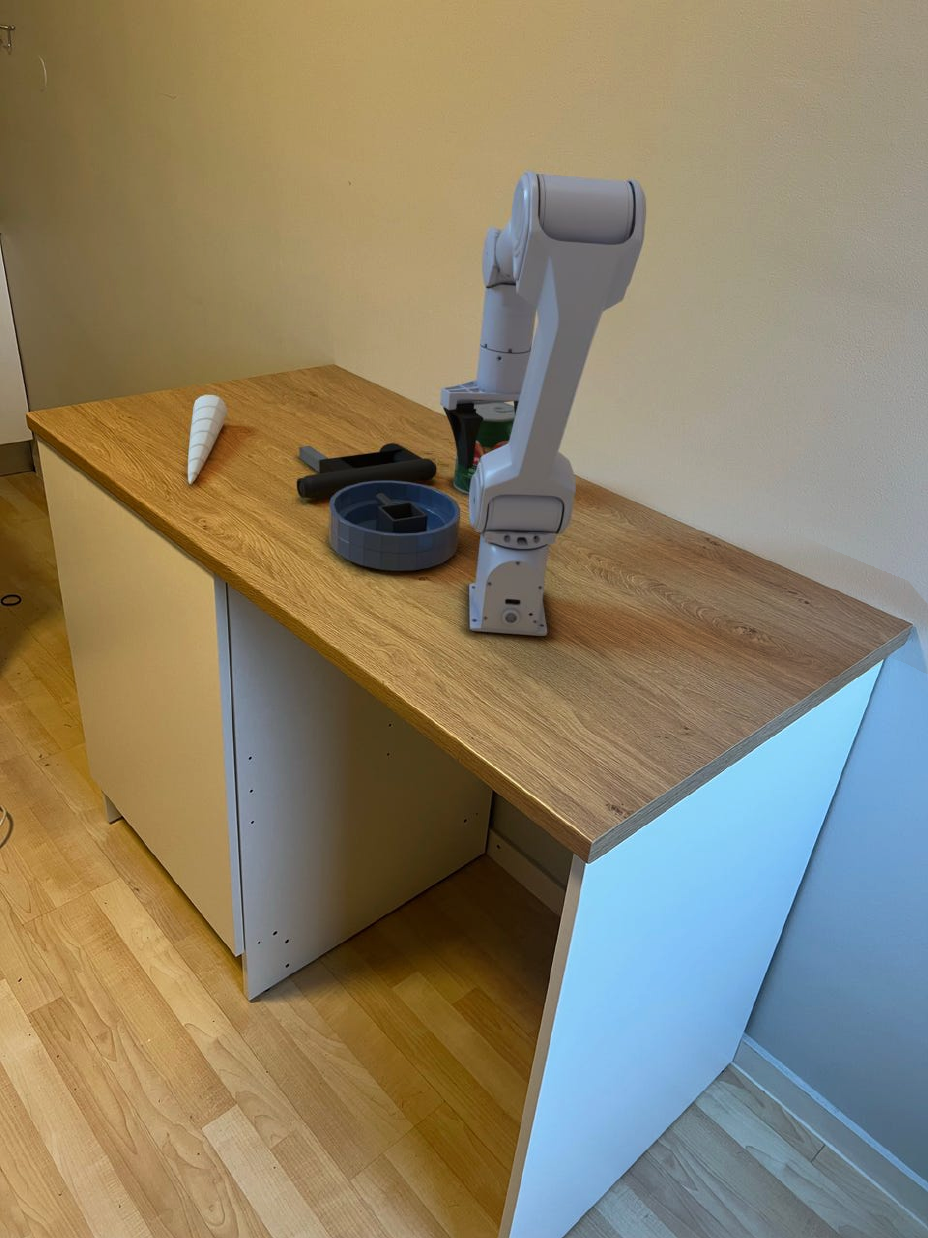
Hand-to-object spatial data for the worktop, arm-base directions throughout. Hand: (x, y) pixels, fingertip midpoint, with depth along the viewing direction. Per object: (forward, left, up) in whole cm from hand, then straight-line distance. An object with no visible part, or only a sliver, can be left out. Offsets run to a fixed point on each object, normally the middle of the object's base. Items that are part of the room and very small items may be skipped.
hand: (492, 461), depth 110 cm
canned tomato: (+16, 0, -10) cm, 19 cm away
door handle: (+16, +18, -10) cm, 26 cm away
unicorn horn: (+20, +39, -10) cm, 45 cm away
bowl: (-4, +11, -10) cm, 15 cm away
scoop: (-4, +11, -9) cm, 15 cm away
